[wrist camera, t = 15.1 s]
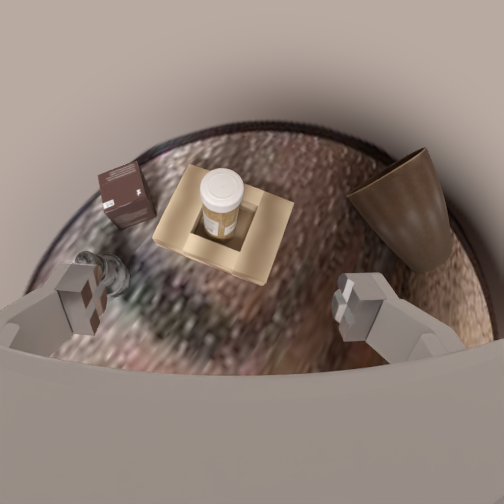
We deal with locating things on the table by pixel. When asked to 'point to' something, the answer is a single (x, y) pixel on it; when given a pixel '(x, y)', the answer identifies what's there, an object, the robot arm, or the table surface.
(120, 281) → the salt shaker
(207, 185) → the sprinkles bottle
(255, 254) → the holder
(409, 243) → the plant pot
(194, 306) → the table surface
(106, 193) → the box
